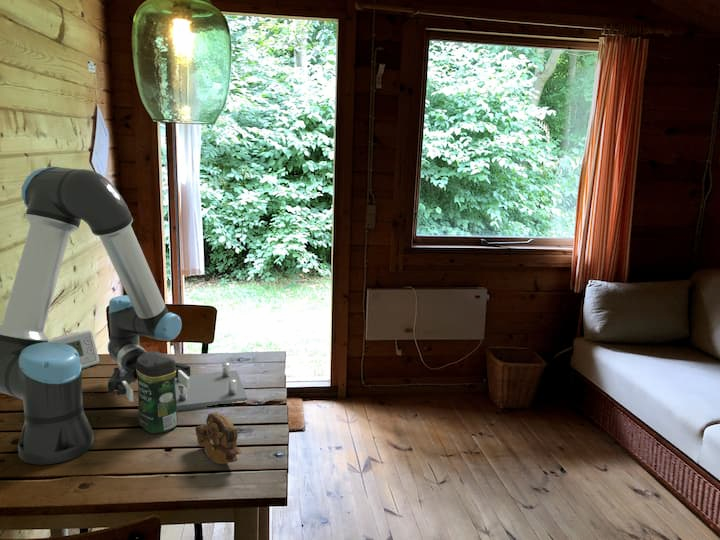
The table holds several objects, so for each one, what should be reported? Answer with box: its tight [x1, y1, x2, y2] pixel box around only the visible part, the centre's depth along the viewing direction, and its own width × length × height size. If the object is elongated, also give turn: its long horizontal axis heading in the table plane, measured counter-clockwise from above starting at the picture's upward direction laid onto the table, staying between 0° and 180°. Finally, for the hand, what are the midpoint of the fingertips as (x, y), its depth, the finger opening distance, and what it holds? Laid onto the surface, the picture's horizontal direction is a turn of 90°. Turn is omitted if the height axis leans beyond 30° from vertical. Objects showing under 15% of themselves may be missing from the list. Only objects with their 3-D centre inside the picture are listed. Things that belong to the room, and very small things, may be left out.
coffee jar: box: [136, 350, 179, 434], centre depth 140 cm, size 10×8×19 cm
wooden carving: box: [194, 412, 242, 465], centre depth 127 cm, size 16×5×10 cm, turn 48°
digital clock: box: [48, 329, 100, 370], centre depth 173 cm, size 16×9×11 cm, turn 133°
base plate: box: [175, 361, 248, 412], centre depth 161 cm, size 20×20×6 cm
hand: (161, 389), depth 138 cm, fingers open, 13 cm apart
